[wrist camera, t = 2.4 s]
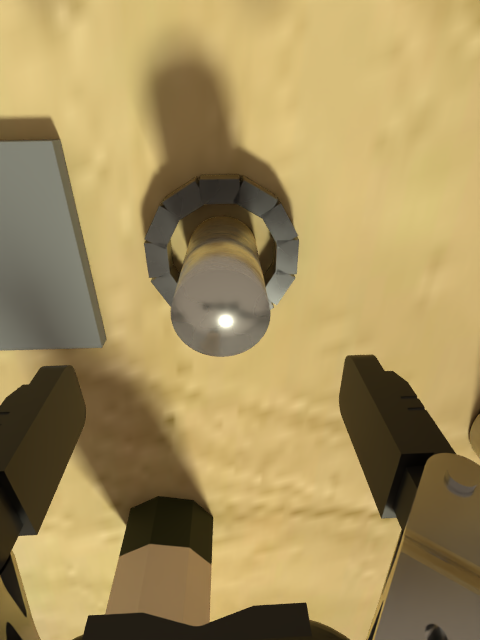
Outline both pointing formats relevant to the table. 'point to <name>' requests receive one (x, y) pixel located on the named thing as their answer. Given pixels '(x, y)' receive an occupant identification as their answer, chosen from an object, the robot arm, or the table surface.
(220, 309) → the cylinder
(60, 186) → the slate mat
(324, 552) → the table surface
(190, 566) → the wine bottle
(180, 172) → the table surface
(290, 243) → the metal eye
